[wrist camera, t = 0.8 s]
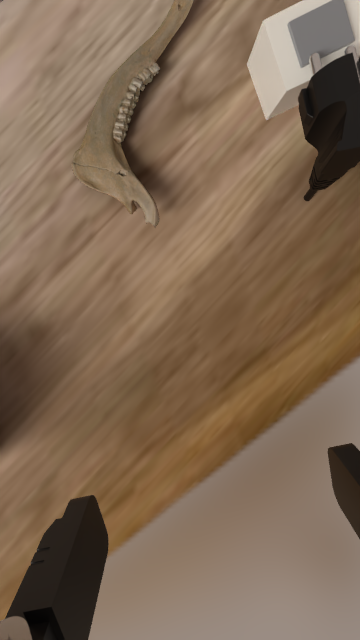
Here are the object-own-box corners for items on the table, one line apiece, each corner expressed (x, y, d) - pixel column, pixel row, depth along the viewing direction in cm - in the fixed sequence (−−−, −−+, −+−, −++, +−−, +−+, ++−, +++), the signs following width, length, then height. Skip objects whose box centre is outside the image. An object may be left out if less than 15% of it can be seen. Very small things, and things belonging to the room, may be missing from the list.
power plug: (280, 211, 32) (329, 131, 20) (265, 138, 33) (304, 20, 21) (338, 200, 32) (422, 113, 20) (322, 127, 33) (394, 1, 21)
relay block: (246, 64, 30) (264, 16, 24) (320, 28, 29) (358, -31, 23) (266, 120, 31) (288, 88, 25) (337, 86, 30) (378, 45, 24)
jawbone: (72, 212, 33) (62, 209, 31) (99, -31, 29) (90, -52, 27) (160, 228, 32) (156, 226, 30) (202, -18, 28) (200, -40, 26)
